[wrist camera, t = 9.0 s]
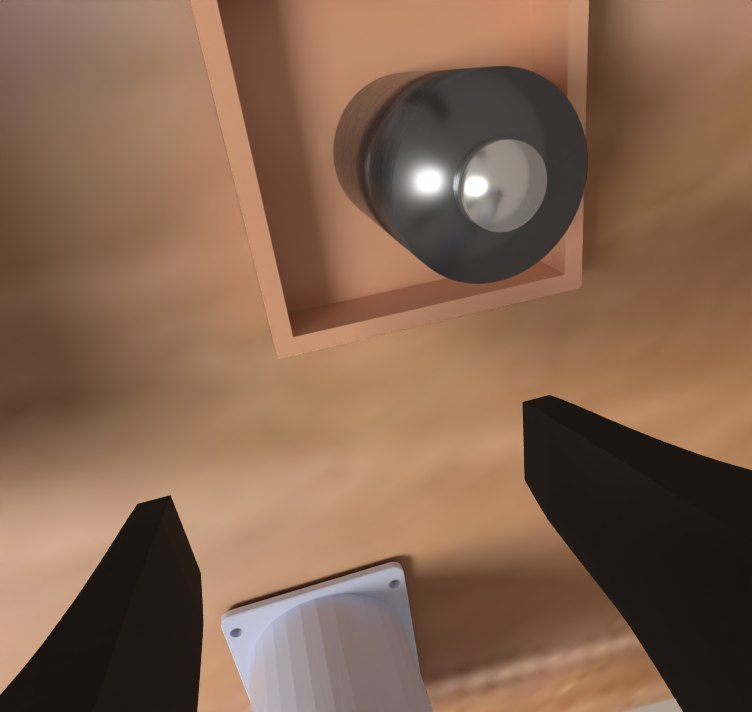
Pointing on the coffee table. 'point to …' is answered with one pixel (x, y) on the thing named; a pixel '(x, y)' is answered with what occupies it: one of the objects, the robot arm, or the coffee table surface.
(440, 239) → the cell
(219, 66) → the dish
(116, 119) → the coffee table surface
